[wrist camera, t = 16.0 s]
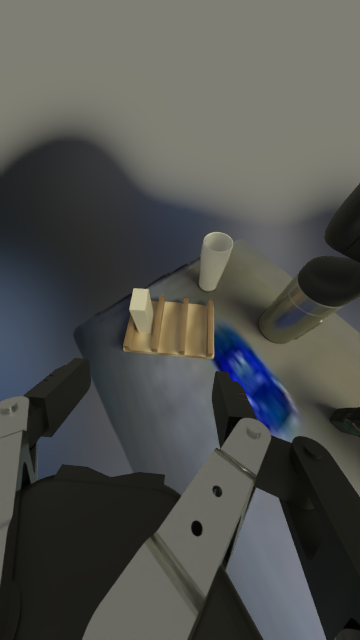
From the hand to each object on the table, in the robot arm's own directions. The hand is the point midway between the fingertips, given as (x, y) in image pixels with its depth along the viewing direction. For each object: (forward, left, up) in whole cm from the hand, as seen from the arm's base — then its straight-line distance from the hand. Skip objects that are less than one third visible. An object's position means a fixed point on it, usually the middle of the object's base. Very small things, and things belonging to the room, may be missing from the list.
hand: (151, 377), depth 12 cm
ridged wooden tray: (+1, -18, -31) cm, 35 cm away
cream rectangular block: (+7, -18, -29) cm, 35 cm away
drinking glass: (-8, -33, -31) cm, 46 cm away
